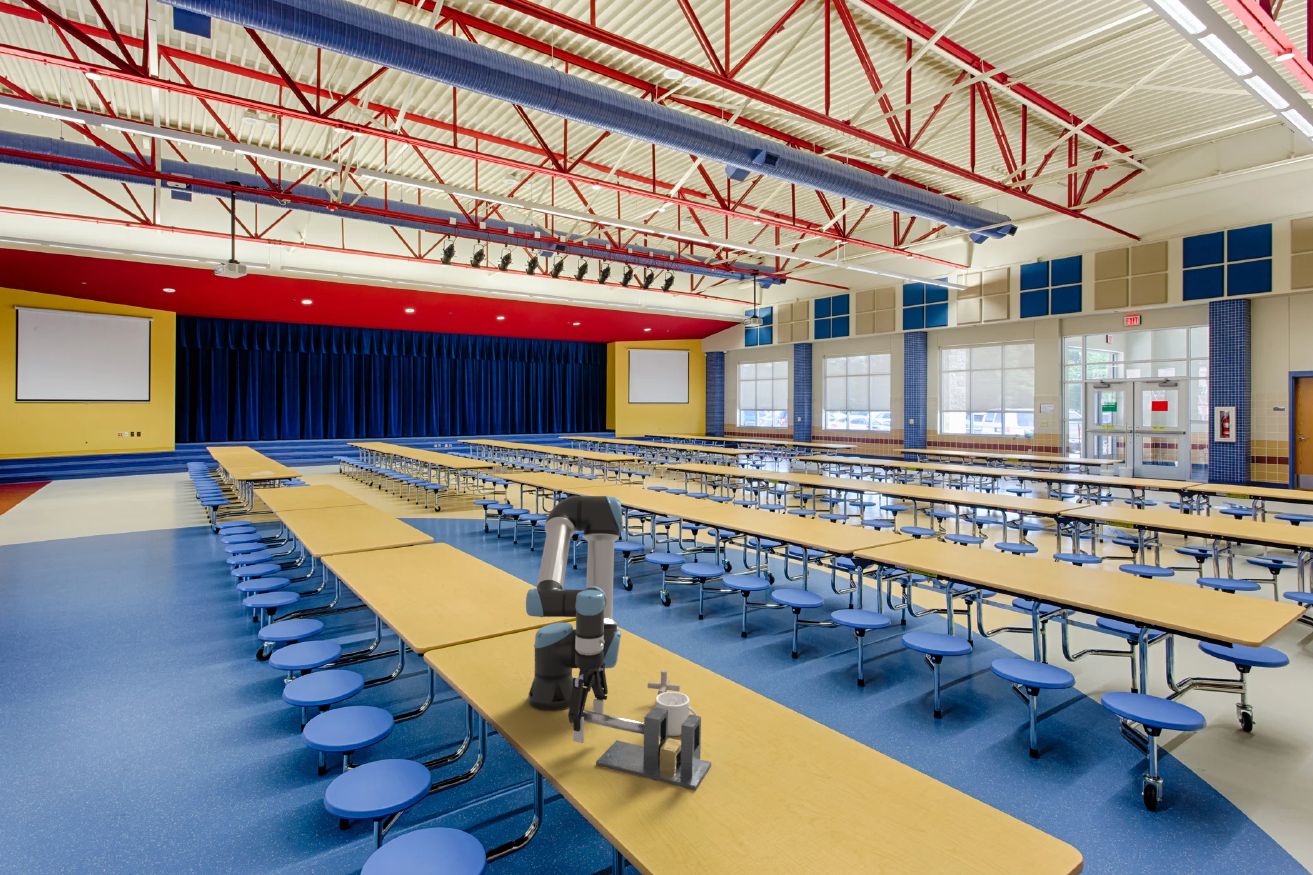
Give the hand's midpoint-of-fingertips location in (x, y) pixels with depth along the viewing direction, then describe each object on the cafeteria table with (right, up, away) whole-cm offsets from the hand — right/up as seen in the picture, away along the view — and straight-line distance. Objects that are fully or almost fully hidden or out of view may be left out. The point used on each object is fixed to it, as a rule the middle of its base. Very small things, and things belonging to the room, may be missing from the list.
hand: (588, 732), depth 175 cm
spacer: (+22, -4, -9) cm, 24 cm away
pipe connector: (+20, -4, +30) cm, 36 cm away
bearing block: (+18, -5, -7) cm, 20 cm away
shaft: (+6, +1, -3) cm, 7 cm away
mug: (+24, -5, +12) cm, 27 cm away
